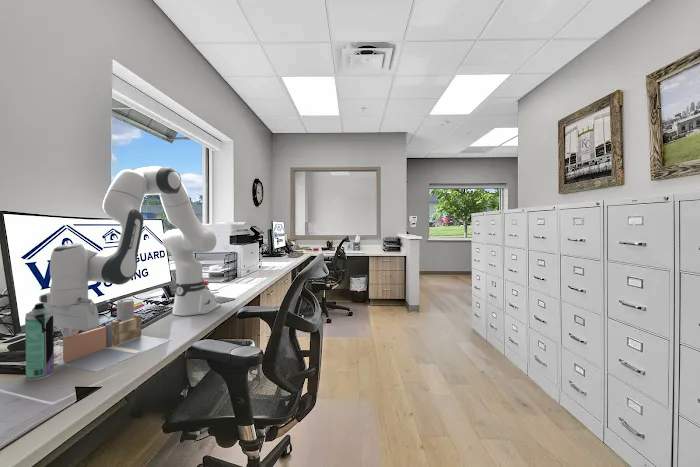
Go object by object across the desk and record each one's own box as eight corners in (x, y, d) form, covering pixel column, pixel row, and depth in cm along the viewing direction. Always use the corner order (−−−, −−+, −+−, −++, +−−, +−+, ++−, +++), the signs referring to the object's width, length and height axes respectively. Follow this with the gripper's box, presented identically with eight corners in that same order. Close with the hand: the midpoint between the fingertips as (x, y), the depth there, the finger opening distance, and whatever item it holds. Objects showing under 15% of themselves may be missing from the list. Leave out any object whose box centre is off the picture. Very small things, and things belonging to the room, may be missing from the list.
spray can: (58, 373, 89) (57, 302, 89) (34, 382, 84) (32, 307, 83) (46, 370, 91) (45, 300, 90) (21, 379, 86) (20, 304, 85)
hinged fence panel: (109, 345, 108) (109, 323, 108) (113, 345, 108) (113, 323, 108) (62, 361, 95) (62, 337, 95) (66, 362, 95) (66, 337, 94)
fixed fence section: (137, 335, 118) (137, 314, 118) (141, 336, 118) (141, 314, 118) (111, 345, 109) (111, 321, 109) (114, 345, 109) (114, 322, 108)
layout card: (132, 335, 120) (132, 333, 120) (171, 341, 115) (171, 339, 115) (50, 364, 95) (50, 362, 95) (95, 373, 90) (95, 371, 90)
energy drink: (122, 329, 126) (122, 299, 126) (137, 329, 126) (136, 298, 126) (113, 334, 121) (113, 302, 120) (128, 334, 121) (128, 302, 121)
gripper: (105, 297, 99) (105, 341, 100) (58, 292, 105) (59, 334, 105) (82, 302, 93) (83, 349, 94) (35, 296, 99) (35, 340, 99)
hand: (70, 341), depth 100 cm, fingers closed
